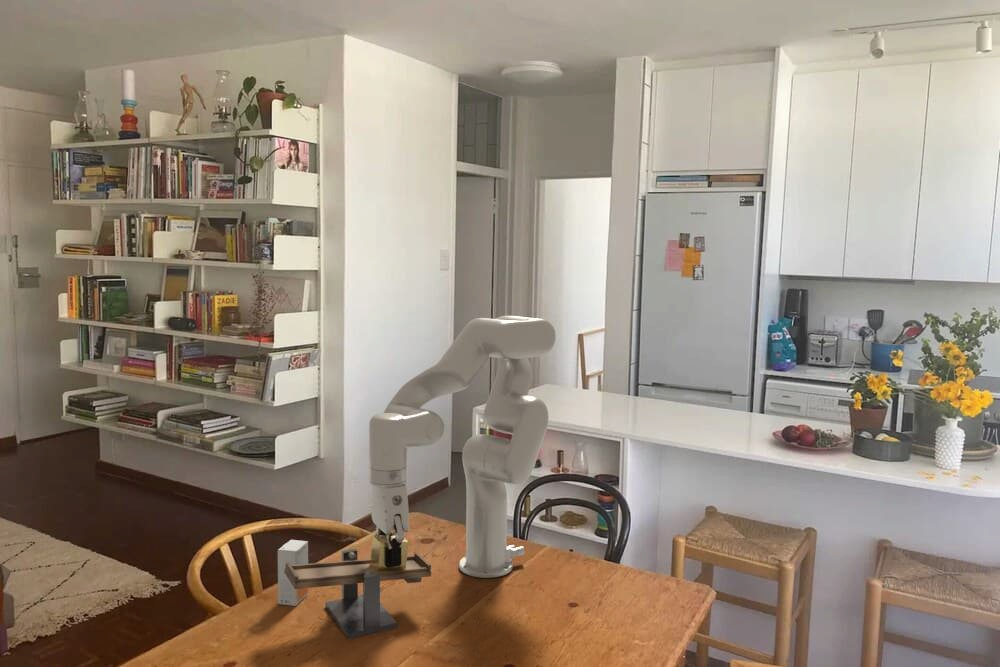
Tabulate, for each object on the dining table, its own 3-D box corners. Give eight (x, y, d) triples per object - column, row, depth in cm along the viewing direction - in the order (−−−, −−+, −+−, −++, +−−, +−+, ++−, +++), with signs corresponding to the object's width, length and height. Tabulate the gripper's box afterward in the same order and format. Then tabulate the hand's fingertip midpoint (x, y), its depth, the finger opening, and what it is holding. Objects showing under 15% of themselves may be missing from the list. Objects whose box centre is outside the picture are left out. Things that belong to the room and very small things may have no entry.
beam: (411, 566, 169) (413, 547, 169) (433, 586, 159) (435, 566, 159) (281, 577, 155) (283, 556, 155) (296, 600, 145) (298, 578, 145)
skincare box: (296, 606, 162) (295, 551, 161) (277, 604, 163) (276, 549, 162) (309, 594, 168) (308, 540, 167) (291, 592, 169) (290, 539, 168)
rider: (397, 562, 163) (400, 534, 163) (405, 570, 159) (408, 541, 159) (370, 564, 160) (373, 535, 160) (377, 572, 156) (380, 543, 156)
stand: (371, 597, 167) (371, 545, 166) (397, 627, 154) (397, 571, 153) (325, 606, 162) (325, 553, 161) (348, 639, 149) (347, 581, 148)
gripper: (421, 483, 152) (421, 573, 154) (390, 462, 167) (391, 544, 169) (385, 489, 149) (385, 580, 151) (357, 466, 163) (357, 550, 165)
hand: (388, 560), depth 160 cm, fingers closed on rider, 4 cm apart
